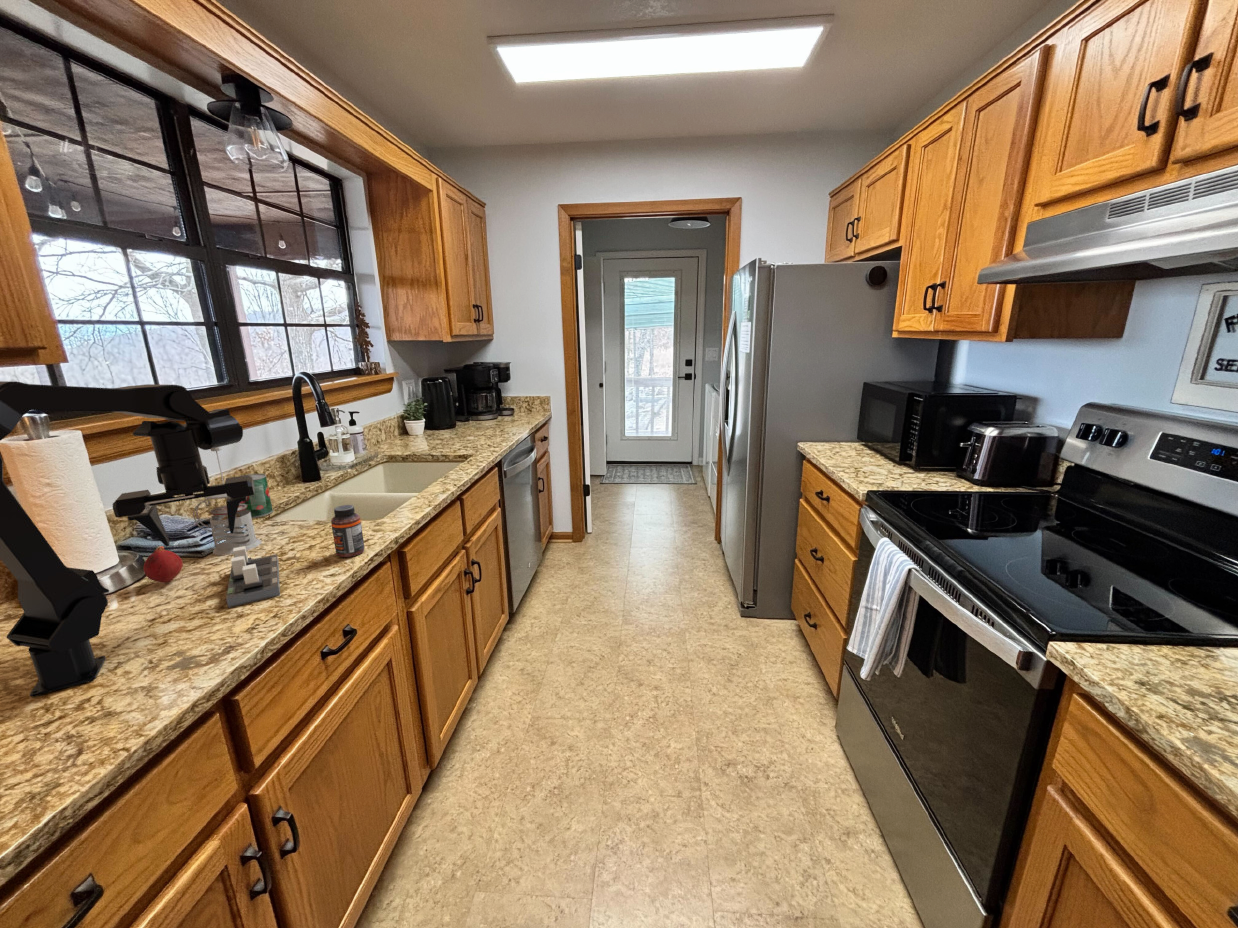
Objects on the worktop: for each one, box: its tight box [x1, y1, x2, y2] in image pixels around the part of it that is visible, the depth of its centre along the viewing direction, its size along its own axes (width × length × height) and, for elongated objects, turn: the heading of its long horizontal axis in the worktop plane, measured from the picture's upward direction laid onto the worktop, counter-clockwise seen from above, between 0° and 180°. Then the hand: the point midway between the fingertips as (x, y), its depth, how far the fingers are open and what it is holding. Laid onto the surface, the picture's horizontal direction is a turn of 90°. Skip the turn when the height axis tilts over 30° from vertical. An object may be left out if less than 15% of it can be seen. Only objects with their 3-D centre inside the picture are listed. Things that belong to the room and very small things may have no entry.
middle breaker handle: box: [230, 556, 246, 580], centre depth 99 cm, size 3×3×4 cm
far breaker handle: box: [232, 546, 252, 566], centre depth 104 cm, size 3×3×4 cm
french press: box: [192, 446, 263, 556], centre depth 116 cm, size 10×12×25 cm
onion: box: [143, 545, 184, 584], centre depth 101 cm, size 6×6×8 cm
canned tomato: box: [239, 473, 274, 519], centre depth 141 cm, size 8×8×11 cm
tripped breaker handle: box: [242, 564, 262, 589], centre depth 95 cm, size 3×3×4 cm
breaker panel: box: [226, 553, 281, 609], centre depth 101 cm, size 18×8×2 cm, turn 35°
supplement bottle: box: [330, 504, 365, 559], centre depth 114 cm, size 6×6×11 cm
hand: (201, 538), depth 90 cm, fingers open, 9 cm apart
